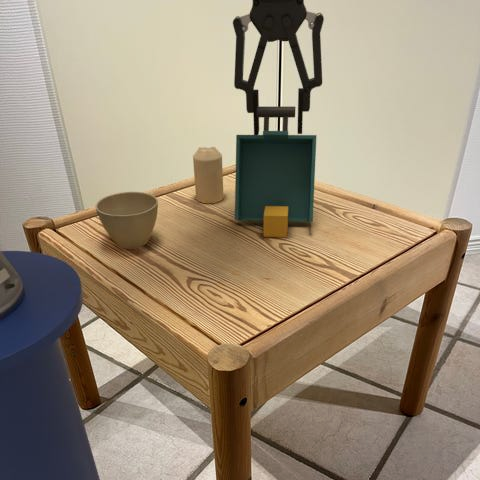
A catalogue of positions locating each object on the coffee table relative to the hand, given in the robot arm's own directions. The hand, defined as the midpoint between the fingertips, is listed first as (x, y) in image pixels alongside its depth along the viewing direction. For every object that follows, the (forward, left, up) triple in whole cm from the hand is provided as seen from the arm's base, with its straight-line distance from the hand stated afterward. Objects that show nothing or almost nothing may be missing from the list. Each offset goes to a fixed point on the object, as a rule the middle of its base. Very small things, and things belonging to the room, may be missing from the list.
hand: (278, 131), depth 87 cm
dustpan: (0, 0, -7) cm, 7 cm away
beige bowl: (-11, -25, -15) cm, 31 cm away
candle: (-15, -3, -15) cm, 22 cm away
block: (+5, -6, -11) cm, 13 cm away
